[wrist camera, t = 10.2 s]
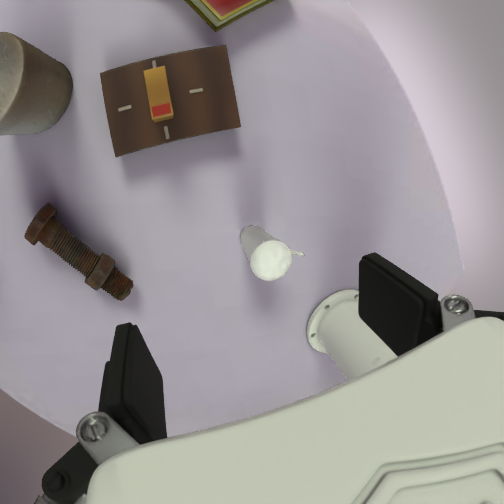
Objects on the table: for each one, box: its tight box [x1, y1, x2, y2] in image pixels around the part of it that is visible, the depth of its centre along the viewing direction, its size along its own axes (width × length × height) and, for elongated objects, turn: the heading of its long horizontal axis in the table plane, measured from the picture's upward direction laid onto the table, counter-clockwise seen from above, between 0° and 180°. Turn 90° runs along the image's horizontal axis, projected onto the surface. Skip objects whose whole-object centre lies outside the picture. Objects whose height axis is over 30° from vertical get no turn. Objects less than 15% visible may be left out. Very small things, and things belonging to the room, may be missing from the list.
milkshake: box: [240, 225, 304, 281], centre depth 34 cm, size 4×5×10 cm
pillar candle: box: [0, 32, 72, 135], centre depth 18 cm, size 10×10×15 cm
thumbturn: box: [144, 66, 173, 123], centre depth 25 cm, size 5×2×5 cm, turn 10°
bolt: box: [25, 203, 133, 301], centre depth 31 cm, size 6×5×15 cm
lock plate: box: [100, 45, 241, 157], centre depth 28 cm, size 14×10×3 cm
